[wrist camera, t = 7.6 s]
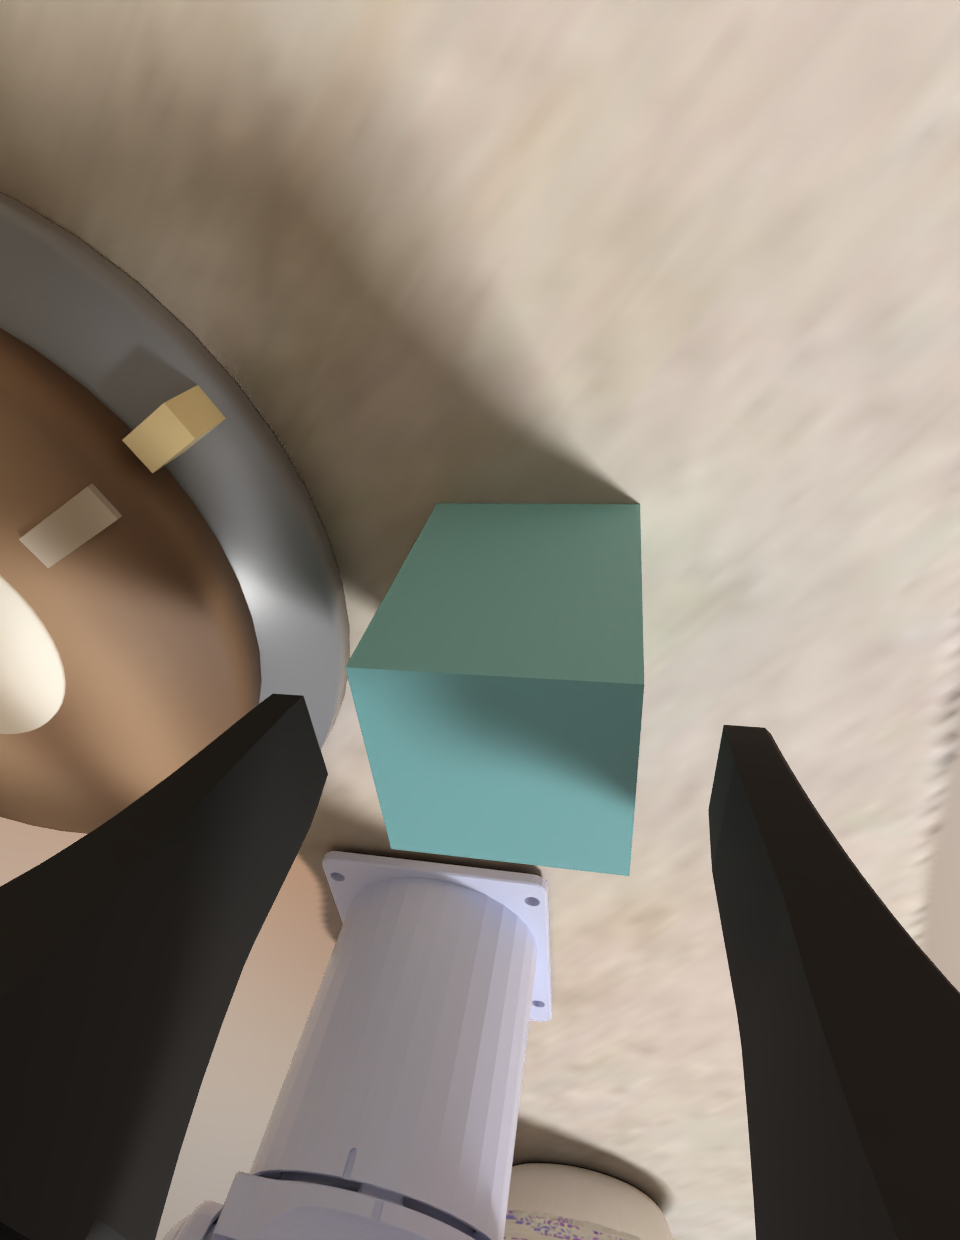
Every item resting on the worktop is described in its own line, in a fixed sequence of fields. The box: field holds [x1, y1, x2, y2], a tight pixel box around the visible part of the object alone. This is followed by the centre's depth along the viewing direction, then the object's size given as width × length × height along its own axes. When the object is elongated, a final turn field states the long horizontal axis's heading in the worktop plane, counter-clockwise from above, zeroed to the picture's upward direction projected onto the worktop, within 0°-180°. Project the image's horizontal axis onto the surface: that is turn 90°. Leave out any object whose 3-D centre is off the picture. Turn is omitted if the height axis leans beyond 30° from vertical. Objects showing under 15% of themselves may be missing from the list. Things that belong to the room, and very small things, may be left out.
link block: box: [345, 503, 644, 876], centre depth 13 cm, size 4×4×6 cm
